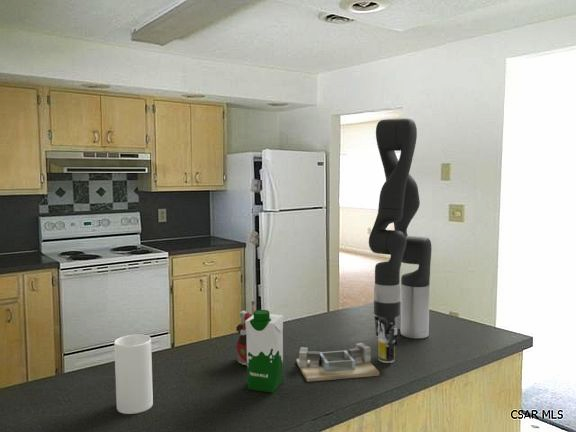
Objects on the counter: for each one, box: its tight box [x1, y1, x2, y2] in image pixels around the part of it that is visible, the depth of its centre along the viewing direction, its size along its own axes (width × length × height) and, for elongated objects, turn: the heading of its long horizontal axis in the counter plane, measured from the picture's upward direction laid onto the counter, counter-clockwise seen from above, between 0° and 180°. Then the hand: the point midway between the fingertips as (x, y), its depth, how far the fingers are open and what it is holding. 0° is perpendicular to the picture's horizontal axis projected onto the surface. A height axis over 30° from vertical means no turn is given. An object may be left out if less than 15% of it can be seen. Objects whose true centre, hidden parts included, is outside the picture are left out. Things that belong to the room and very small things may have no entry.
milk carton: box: [244, 309, 284, 394], centre depth 129 cm, size 9×9×20 cm
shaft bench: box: [295, 342, 380, 382], centre depth 140 cm, size 14×21×5 cm
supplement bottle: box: [377, 331, 396, 364], centre depth 146 cm, size 5×5×8 cm
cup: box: [113, 334, 154, 415], centre depth 118 cm, size 8×8×16 cm
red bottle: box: [235, 300, 256, 366], centre depth 146 cm, size 11×9×18 cm
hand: (386, 355), depth 146 cm, fingers closed on supplement bottle, 4 cm apart
